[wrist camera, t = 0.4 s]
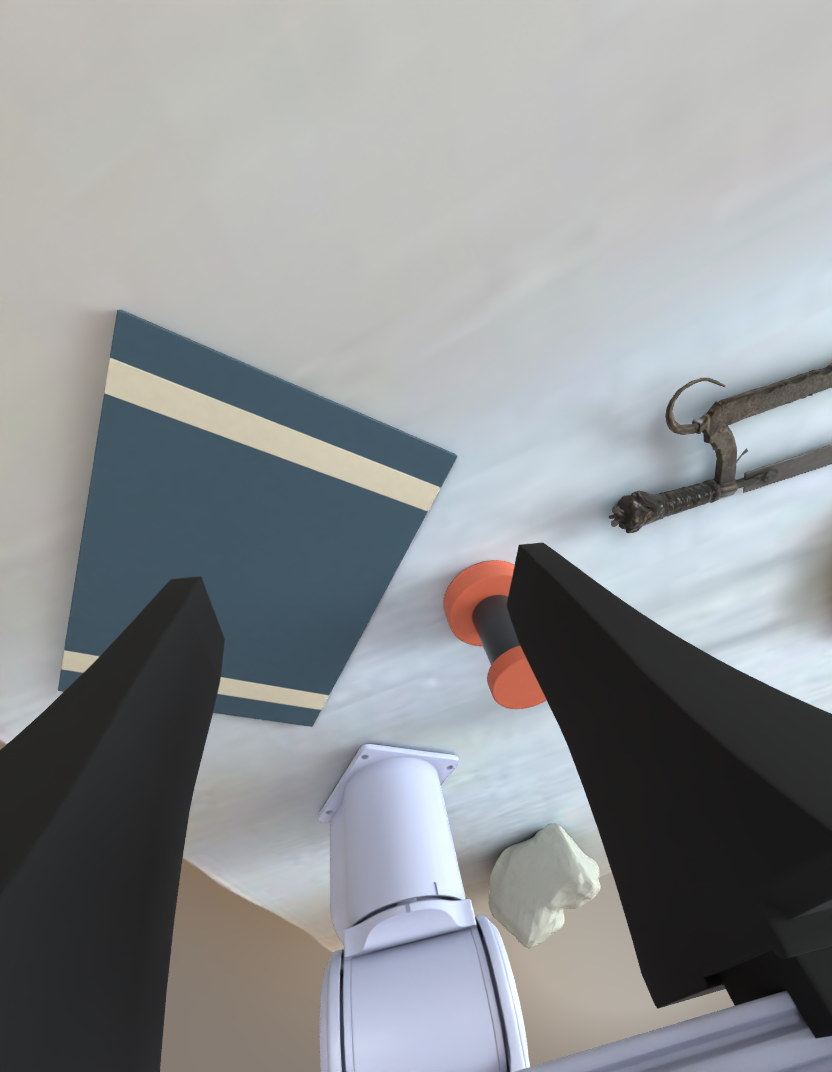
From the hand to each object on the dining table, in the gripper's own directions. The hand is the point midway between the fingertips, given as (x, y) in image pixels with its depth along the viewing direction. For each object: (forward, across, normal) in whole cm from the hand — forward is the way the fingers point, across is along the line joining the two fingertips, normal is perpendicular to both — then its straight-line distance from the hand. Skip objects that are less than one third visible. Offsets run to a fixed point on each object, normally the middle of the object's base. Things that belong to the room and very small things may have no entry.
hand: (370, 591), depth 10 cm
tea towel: (+10, +6, +8) cm, 14 cm away
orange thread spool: (+10, -7, +11) cm, 16 cm away
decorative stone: (+6, -16, +45) cm, 48 cm away
